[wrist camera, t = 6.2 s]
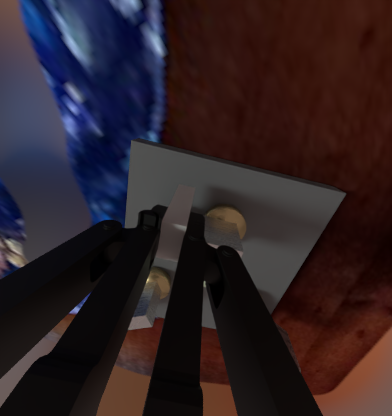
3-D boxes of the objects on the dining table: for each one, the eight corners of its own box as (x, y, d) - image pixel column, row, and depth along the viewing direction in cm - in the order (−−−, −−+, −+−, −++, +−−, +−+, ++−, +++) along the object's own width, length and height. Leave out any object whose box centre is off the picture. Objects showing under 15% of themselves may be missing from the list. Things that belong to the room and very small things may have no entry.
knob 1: (163, 264, 23) (151, 304, 18) (175, 289, 25) (167, 333, 20) (99, 277, 25) (71, 317, 20) (114, 299, 27) (92, 342, 22)
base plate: (138, 138, 19) (126, 141, 16) (334, 186, 20) (354, 198, 17) (124, 296, 30) (115, 316, 27) (253, 324, 30) (258, 346, 28)
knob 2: (250, 210, 19) (264, 242, 14) (236, 243, 21) (244, 283, 16) (162, 186, 19) (145, 212, 14) (155, 223, 21) (138, 257, 16)
